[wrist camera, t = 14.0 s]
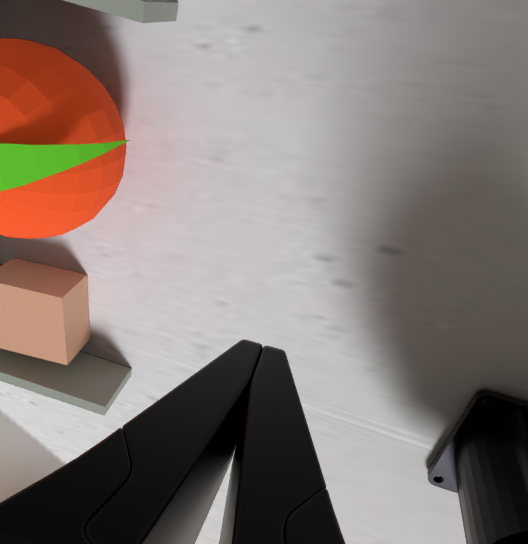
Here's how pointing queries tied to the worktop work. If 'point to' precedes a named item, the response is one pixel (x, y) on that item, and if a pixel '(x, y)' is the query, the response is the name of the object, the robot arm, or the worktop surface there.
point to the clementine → (54, 142)
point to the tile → (43, 310)
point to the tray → (83, 367)
